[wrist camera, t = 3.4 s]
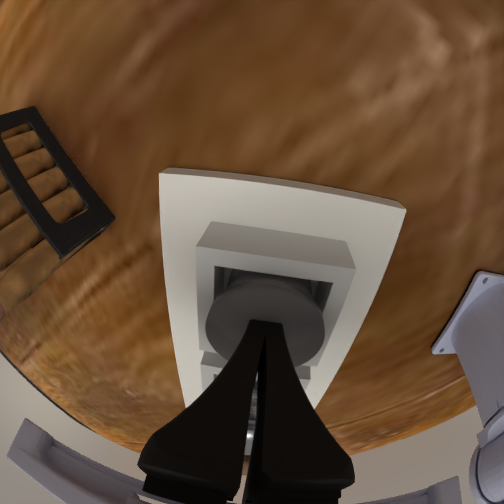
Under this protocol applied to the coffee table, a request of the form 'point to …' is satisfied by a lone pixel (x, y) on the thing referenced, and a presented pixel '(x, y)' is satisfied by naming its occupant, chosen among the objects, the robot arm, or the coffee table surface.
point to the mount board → (269, 258)
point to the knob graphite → (266, 313)
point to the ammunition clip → (40, 206)
